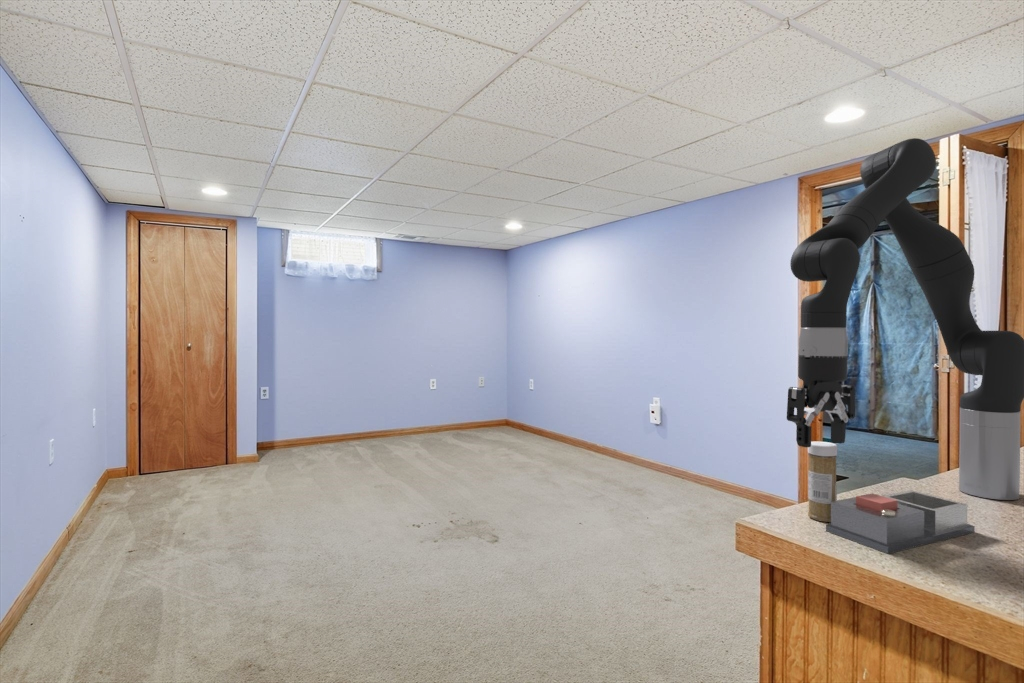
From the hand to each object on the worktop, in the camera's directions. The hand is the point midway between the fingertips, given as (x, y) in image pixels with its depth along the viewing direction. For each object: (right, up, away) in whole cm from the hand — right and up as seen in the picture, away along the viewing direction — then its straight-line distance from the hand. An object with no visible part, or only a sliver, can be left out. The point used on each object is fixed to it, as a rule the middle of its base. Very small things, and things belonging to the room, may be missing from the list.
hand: (821, 444), depth 95 cm
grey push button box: (+9, -13, -6) cm, 17 cm away
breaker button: (+4, -12, -9) cm, 15 cm away
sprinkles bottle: (0, -13, 0) cm, 13 cm away
